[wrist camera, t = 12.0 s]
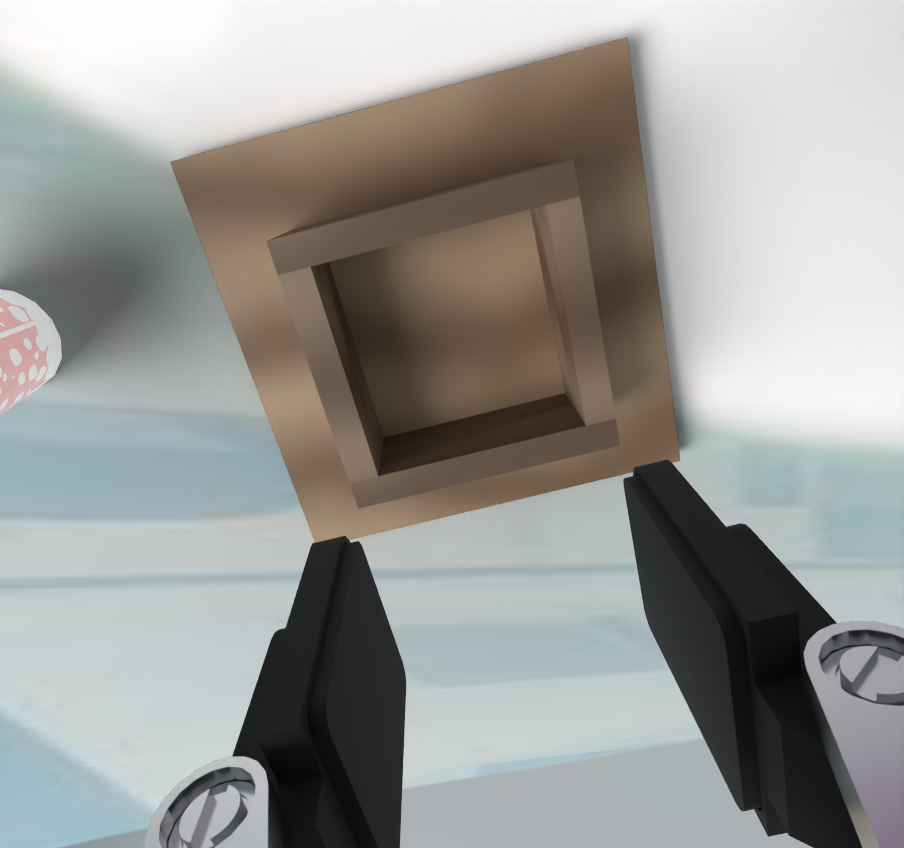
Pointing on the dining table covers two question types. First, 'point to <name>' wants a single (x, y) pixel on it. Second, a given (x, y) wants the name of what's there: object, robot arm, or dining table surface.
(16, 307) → the beverage cup
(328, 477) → the walnut stand
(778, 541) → the dining table surface
